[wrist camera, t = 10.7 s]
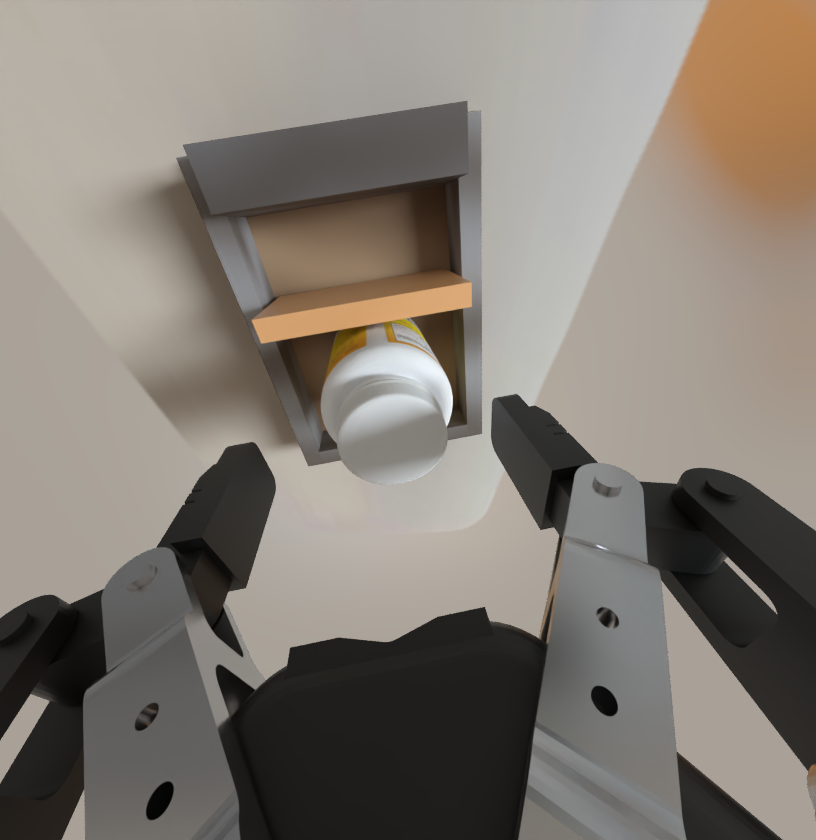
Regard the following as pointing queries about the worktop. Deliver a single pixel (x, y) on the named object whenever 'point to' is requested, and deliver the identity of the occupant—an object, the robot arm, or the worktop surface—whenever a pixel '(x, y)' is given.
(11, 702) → the robot arm
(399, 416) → the supplement bottle
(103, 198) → the worktop surface
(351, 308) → the board
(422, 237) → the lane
